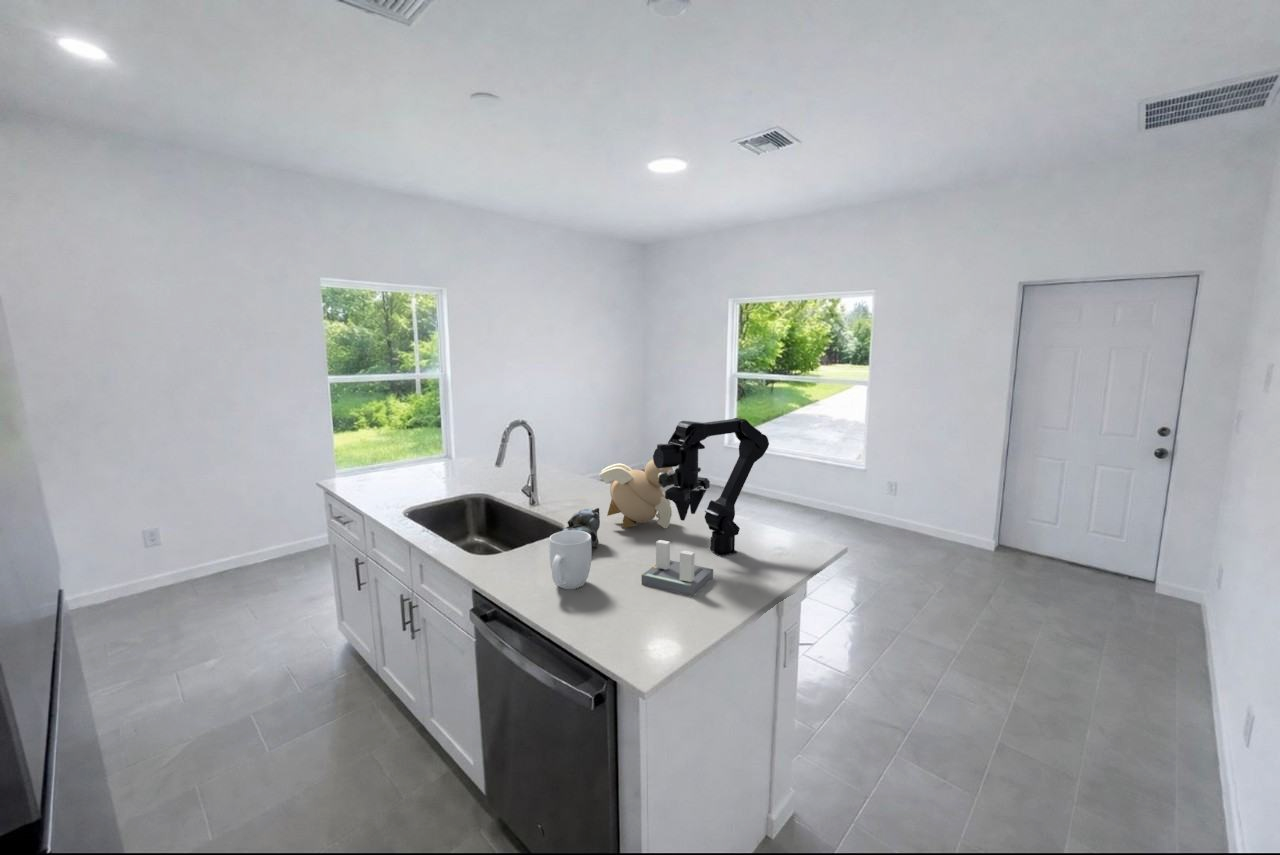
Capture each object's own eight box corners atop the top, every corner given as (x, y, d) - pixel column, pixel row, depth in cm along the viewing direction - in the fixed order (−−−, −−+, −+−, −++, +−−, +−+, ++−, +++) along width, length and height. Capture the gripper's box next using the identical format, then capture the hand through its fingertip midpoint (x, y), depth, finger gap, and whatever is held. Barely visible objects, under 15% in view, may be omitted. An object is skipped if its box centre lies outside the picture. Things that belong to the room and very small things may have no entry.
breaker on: (682, 576, 140) (683, 550, 139) (694, 579, 139) (694, 552, 138) (679, 579, 139) (679, 552, 138) (690, 582, 137) (691, 555, 136)
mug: (575, 602, 132) (574, 551, 130) (535, 596, 136) (533, 546, 134) (598, 578, 146) (597, 532, 145) (561, 573, 150) (560, 528, 148)
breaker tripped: (659, 564, 148) (659, 539, 147) (669, 567, 147) (670, 541, 146) (656, 567, 147) (656, 542, 146) (666, 569, 145) (666, 544, 144)
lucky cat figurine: (549, 544, 172) (559, 502, 176) (581, 553, 178) (590, 511, 182) (570, 544, 160) (580, 499, 164) (604, 553, 165) (613, 509, 170)
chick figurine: (635, 437, 177) (636, 428, 199) (579, 499, 180) (587, 483, 202) (702, 496, 179) (696, 481, 201) (646, 557, 182) (646, 535, 205)
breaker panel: (664, 567, 154) (664, 558, 154) (713, 577, 147) (713, 568, 146) (641, 583, 143) (641, 574, 143) (693, 596, 136) (693, 586, 135)
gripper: (677, 456, 168) (677, 505, 170) (648, 467, 152) (648, 521, 154) (710, 460, 163) (709, 510, 165) (684, 472, 146) (683, 527, 149)
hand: (687, 517), depth 158 cm, fingers open, 7 cm apart
